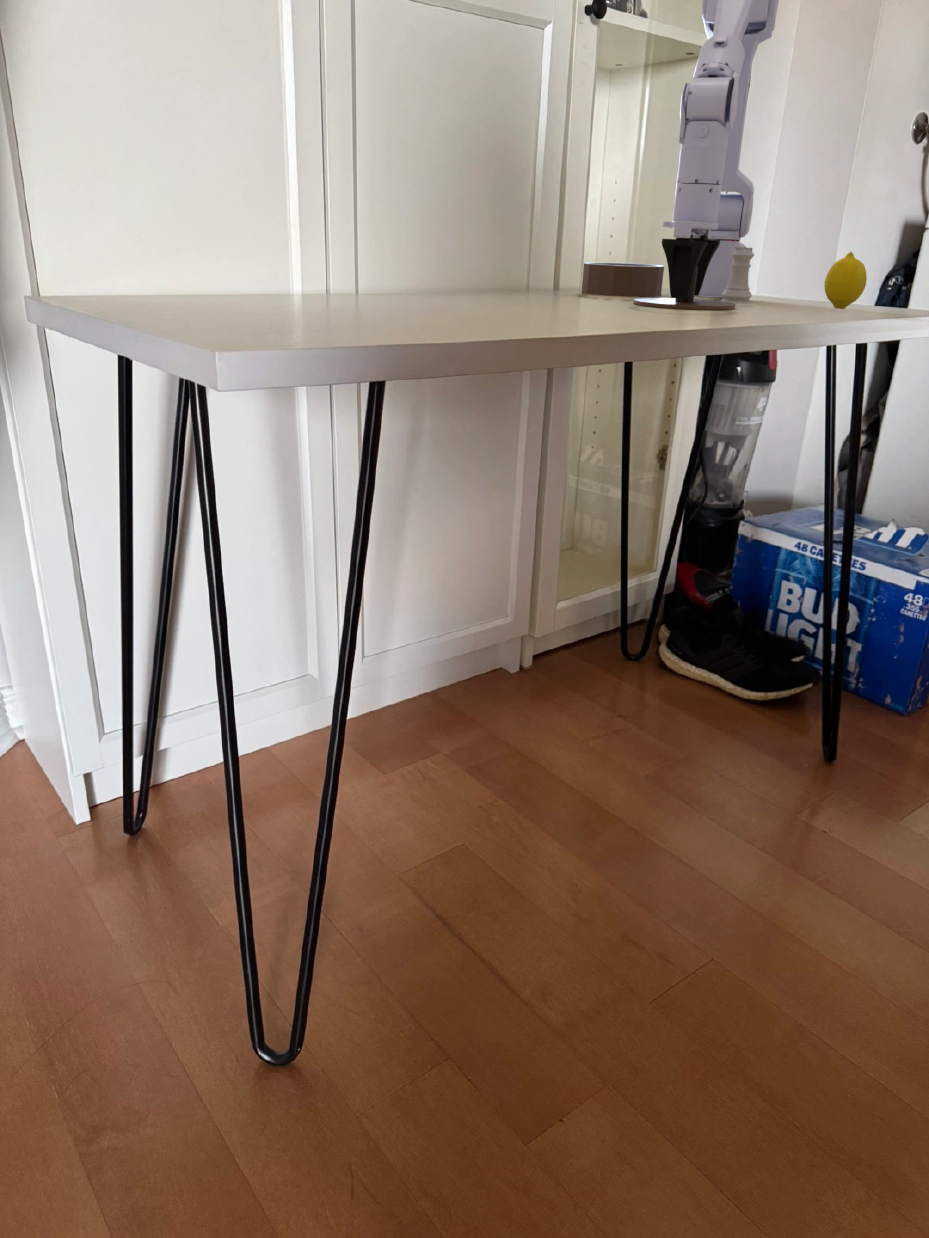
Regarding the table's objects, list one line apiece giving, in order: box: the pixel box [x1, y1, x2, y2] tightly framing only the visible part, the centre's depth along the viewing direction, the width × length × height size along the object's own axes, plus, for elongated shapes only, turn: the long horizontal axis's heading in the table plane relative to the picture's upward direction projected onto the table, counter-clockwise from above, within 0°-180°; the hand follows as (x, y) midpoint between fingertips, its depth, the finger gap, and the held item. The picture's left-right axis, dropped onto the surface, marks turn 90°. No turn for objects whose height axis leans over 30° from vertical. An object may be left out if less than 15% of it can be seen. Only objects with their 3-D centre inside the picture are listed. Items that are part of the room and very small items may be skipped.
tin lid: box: [633, 266, 737, 311], centre depth 119 cm, size 14×14×6 cm
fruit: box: [823, 251, 868, 310], centre depth 127 cm, size 6×6×8 cm
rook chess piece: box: [720, 246, 755, 304], centre depth 130 cm, size 4×4×8 cm
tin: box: [581, 261, 665, 298], centre depth 139 cm, size 12×12×5 cm
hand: (684, 297), depth 119 cm, fingers open, 7 cm apart
